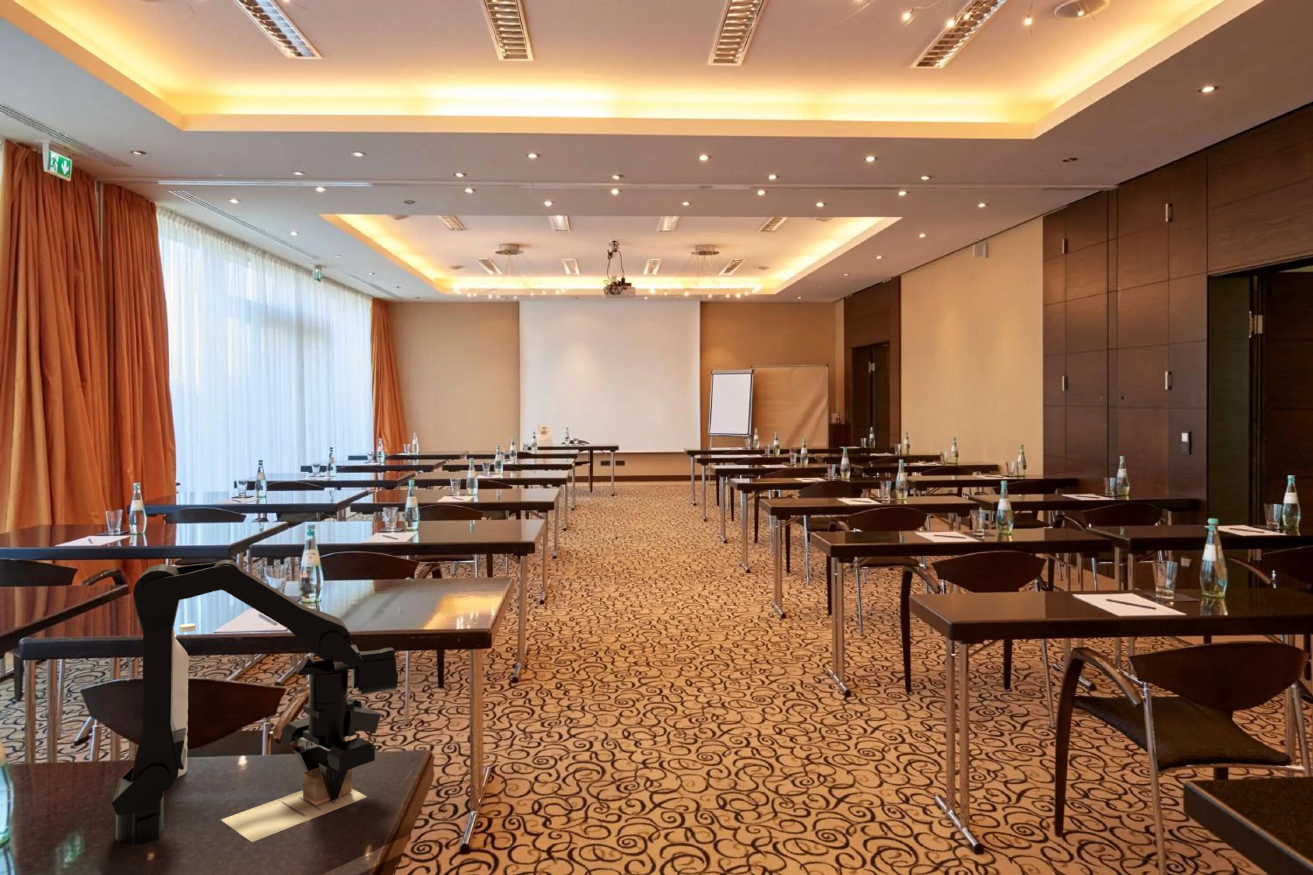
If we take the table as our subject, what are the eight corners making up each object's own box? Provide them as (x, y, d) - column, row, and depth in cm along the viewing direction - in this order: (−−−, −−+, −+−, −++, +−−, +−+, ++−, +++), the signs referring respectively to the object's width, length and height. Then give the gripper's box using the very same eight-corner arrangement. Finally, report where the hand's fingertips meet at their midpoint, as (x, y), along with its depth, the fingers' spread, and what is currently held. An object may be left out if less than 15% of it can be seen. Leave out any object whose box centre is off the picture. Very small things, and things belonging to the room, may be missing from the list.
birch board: (220, 829, 116) (220, 819, 116) (333, 787, 130) (334, 778, 130) (251, 852, 110) (251, 841, 110) (367, 805, 124) (367, 796, 124)
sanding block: (303, 797, 123) (303, 772, 123) (338, 784, 127) (338, 760, 127) (316, 805, 120) (316, 779, 120) (351, 791, 125) (351, 766, 125)
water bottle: (165, 785, 130) (167, 636, 130) (133, 780, 131) (135, 633, 131) (206, 763, 138) (208, 624, 138) (175, 759, 140) (177, 622, 140)
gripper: (406, 698, 124) (404, 794, 124) (344, 674, 136) (342, 762, 136) (341, 717, 116) (340, 821, 116) (280, 690, 127) (279, 784, 127)
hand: (326, 795), depth 124 cm, fingers closed on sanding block, 4 cm apart
